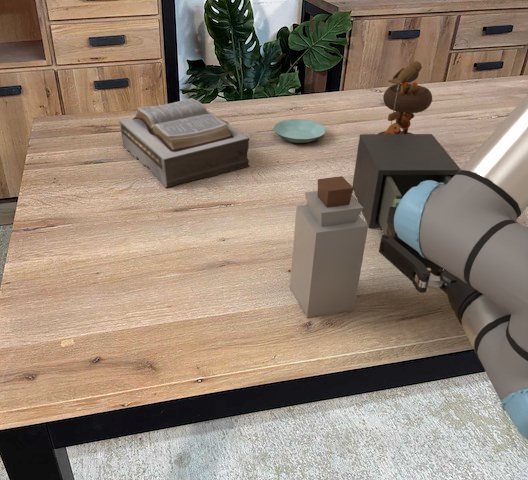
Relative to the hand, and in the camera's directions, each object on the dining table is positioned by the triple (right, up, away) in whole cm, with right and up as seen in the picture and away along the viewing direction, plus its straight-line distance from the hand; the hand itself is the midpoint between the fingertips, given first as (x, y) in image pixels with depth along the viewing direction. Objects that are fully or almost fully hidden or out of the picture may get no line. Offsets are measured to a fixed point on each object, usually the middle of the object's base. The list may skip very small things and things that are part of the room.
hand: (433, 214), depth 78 cm
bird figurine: (+8, +15, +37) cm, 40 cm away
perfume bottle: (-17, -12, -3) cm, 21 cm away
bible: (-38, +14, +38) cm, 56 cm away
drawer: (0, -3, +7) cm, 8 cm away
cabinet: (+1, +2, +18) cm, 18 cm away
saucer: (-12, +20, +45) cm, 51 cm away
